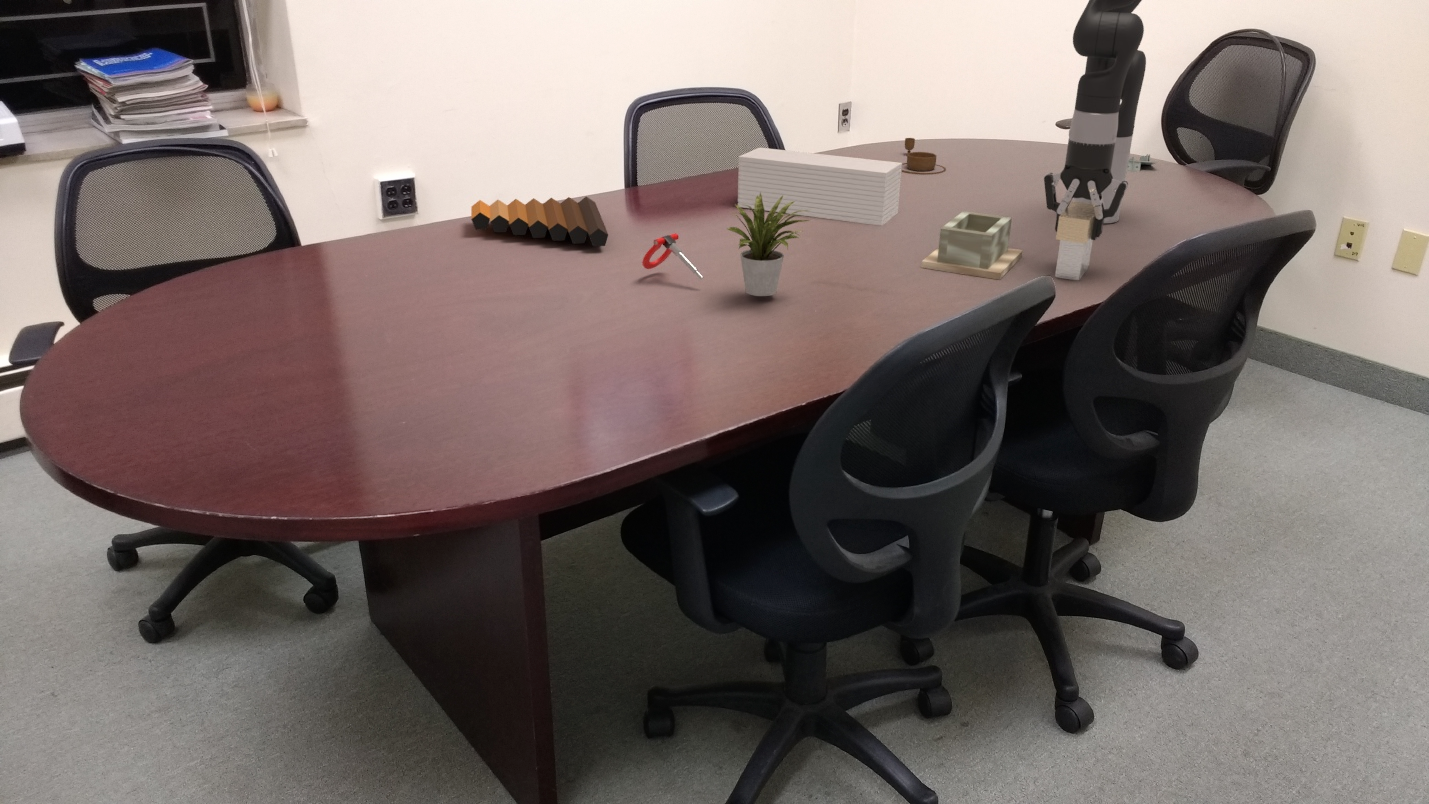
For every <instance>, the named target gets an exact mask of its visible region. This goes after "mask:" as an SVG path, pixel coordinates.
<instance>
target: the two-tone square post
mask: <svg viewBox="0 0 1429 804" xmlns="http://www.w3.org/2000/svg"><path fill="white" fill-rule="evenodd" d="M1095 218H1096V216H1095V211H1094V207H1093V205H1092V204H1089V203H1081V202H1074V201H1073V202H1071V203H1070V204H1069V206H1068V208H1067V209H1066V210H1065V211H1064V212H1063V213H1062V214H1061V215H1060V216H1059V221H1058V228H1057V232H1056V235H1055V240H1056V241H1057V240H1058V241H1059V247H1058V254H1057V261H1056V267H1055V273H1054V274H1055V275H1054V277H1055V278H1058V279H1065V280H1073V281H1079V280H1081V278H1082V277H1083V275H1084V274H1085V273H1086V272H1087V270H1088V269H1089V266H1090V260H1091V254H1092V248H1093V241H1094V240H1091V237H1092V231H1093V224H1094V219H1095Z"/></svg>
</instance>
